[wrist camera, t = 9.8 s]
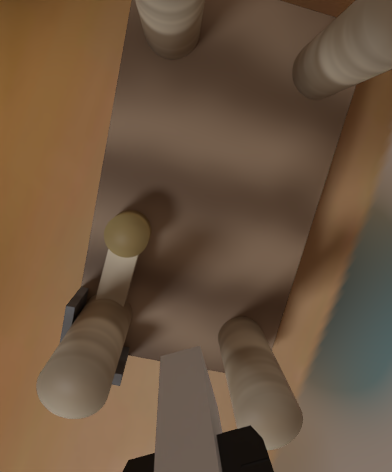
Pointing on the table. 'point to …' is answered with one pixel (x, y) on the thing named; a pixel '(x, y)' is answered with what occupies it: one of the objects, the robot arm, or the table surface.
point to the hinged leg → (96, 328)
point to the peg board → (227, 177)
